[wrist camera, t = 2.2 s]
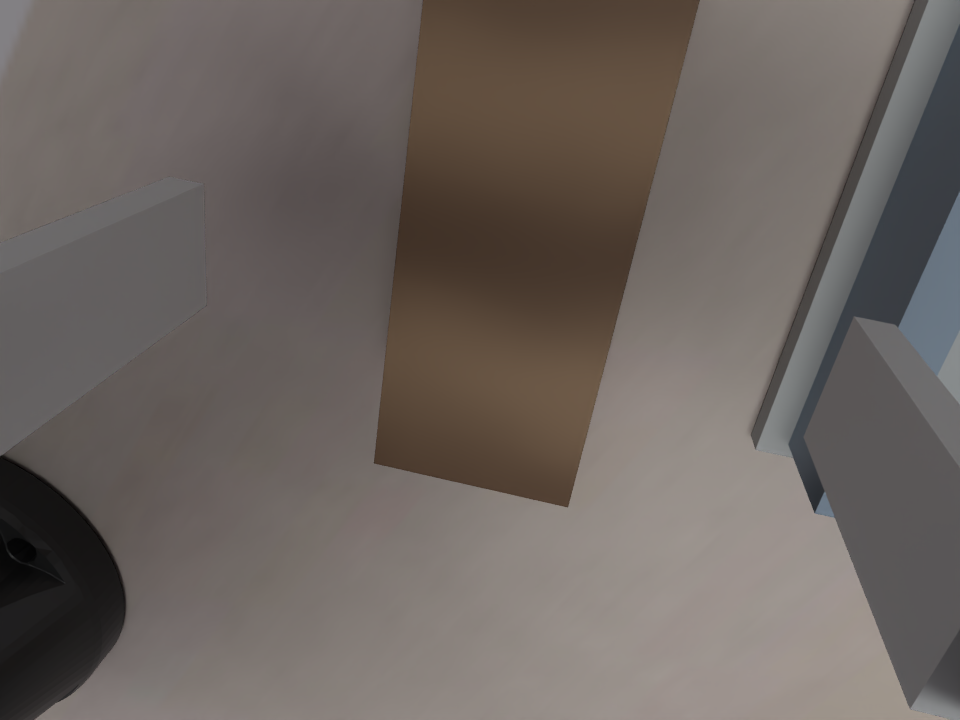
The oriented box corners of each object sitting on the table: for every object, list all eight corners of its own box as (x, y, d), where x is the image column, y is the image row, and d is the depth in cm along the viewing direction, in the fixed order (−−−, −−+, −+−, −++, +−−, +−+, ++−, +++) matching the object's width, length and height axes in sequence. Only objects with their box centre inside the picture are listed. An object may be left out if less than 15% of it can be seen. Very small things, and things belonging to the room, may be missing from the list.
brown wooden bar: (578, 396, 28) (567, 507, 22) (426, 363, 29) (373, 463, 23) (687, -47, 22) (716, -65, 15) (486, -80, 22) (434, -111, 16)
